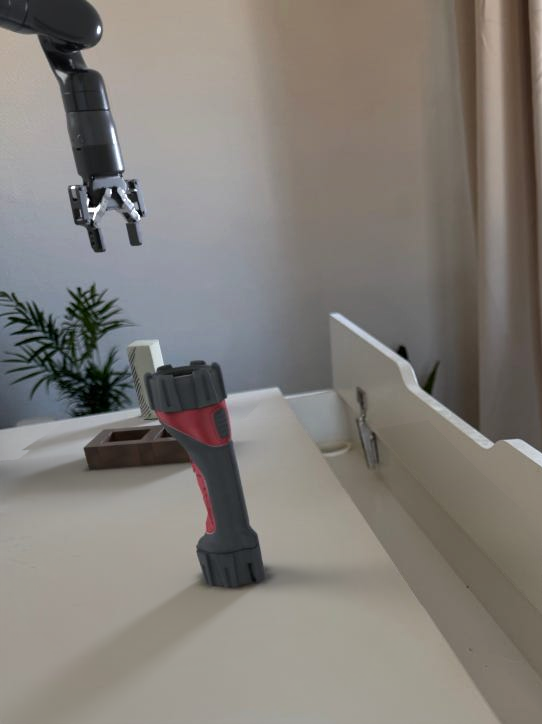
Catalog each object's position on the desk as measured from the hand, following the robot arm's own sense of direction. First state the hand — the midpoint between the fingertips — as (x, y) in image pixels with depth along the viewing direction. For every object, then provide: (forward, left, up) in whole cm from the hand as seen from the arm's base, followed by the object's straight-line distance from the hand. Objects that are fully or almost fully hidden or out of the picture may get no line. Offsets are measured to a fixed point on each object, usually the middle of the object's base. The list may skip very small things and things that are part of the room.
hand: (118, 248), depth 167 cm
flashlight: (+29, -84, -28) cm, 93 cm away
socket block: (+9, -34, -28) cm, 44 cm away
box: (+2, -6, -28) cm, 28 cm away
